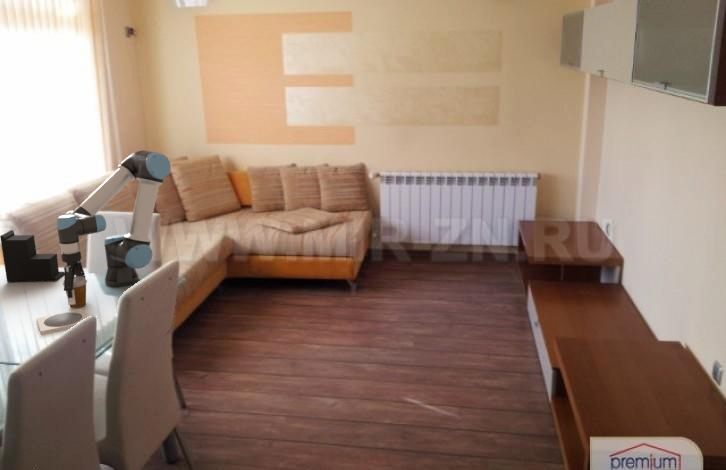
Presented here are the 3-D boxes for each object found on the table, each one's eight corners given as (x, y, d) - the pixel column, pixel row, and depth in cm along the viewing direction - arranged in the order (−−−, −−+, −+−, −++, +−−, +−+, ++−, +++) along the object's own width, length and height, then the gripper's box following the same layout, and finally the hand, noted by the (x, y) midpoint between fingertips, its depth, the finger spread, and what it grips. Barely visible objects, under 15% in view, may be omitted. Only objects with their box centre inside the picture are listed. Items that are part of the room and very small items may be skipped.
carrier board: (84, 312, 253) (84, 308, 252) (91, 324, 241) (90, 320, 240) (36, 321, 243) (36, 318, 243) (41, 334, 231) (40, 331, 231)
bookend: (65, 274, 300) (59, 229, 293) (56, 281, 289) (50, 235, 283) (17, 275, 298) (9, 230, 292) (6, 282, 288) (-2, 236, 281)
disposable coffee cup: (67, 302, 263) (64, 277, 260) (91, 300, 266) (87, 274, 262) (64, 310, 254) (60, 284, 251) (88, 308, 257) (85, 282, 254)
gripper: (70, 243, 265) (76, 288, 270) (51, 260, 241) (58, 309, 247) (88, 243, 266) (94, 287, 271) (70, 260, 242) (77, 308, 248)
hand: (77, 298), depth 259 cm, fingers open, 13 cm apart
